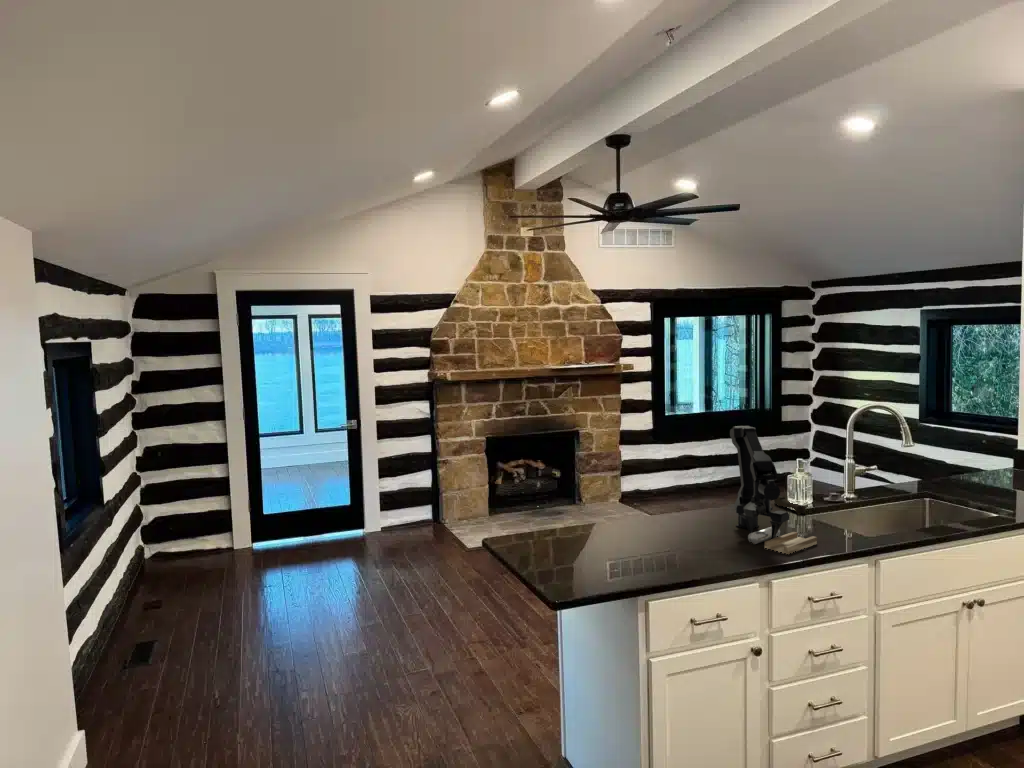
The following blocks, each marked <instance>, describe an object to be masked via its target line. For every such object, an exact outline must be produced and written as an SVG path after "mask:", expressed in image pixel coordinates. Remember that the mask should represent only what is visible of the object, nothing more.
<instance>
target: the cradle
mask: <svg viewBox="0 0 1024 768" xmlns="http://www.w3.org/2000/svg"><path fill="white" fill-rule="evenodd" d="M817 540H818V537H817V536H814V535H812V536H809V537H807V538H805V537H801V536H798V532H796V531H791V532H789V533H786V534H783V535H779V536H778V537H775V538H774V539H769V540H766V541H764V549H765V548H767V549H766V550H768V549H771V550H770V551H772V550H774V551H773V552H776V551H778V552H777V553H780V552H782V553H781V554H784V553H786V554H785V555H787V554H788V555H790V553H791V554H794V553H796V552H799V551H801V549H802V550H804V548H805V549H807V548H810V547H813V546H815V545H818V543H817V542H818V541H817ZM795 551H796V552H795ZM793 552H794V553H793Z"/></svg>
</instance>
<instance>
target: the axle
mask: <svg viewBox="0 0 1024 768" xmlns="http://www.w3.org/2000/svg"><path fill="white" fill-rule="evenodd" d="M777 536H778V537H779V536H781V529H780V528H779V530H778V532H777V534H776V536H775V538H777ZM771 538H772V526H770V527H769V526H768V527H766V528H764V529H760V530H757V531H754V532H752V533H749V534H748V535H747V540H748V542H749V543H750V542H752V543H755V544H754V545H756V544H760V543H763V542H765V541H768V540H771ZM752 543H751V544H752Z"/></svg>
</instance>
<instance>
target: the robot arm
mask: <svg viewBox="0 0 1024 768" xmlns="http://www.w3.org/2000/svg"><path fill="white" fill-rule="evenodd" d="M729 437H730V438H731V442H732V444H733V446H735V448H736V449H737V459H738V468H739V469H738V470H739V476H740V488H739V490H738V492H737V497H736V499H735V502H734V510H735V514H738V515H737V518H738V519H737V520H738V521H737V523H738V524H735V527H737V528H741V527H742V528H741V529H745V528H747V529H746V530H748V532H749V534H750V533H753V531H754V529H756V528H759V527H760V524H759V515H760V516H764V517H769V518H770V521H769V523H770V525H771V527H772V539H774V538H776V537H775V536H776V534H777V532H778V530H779V529H780V528H781V526H782V525H783V523H786V522H787V521H790V514H789V512H788V511H784V510H776V511H773V507H772V506H771V501H774V500H775V499H777V498H778V497H779V495H781V489H780V487H779V486H778V485H777V484H776V483H775V481H776V480H777V481H778V472H777V469H776V466H775V464H774V462H773V461H772V458H771V457H770V455H768V454H767V453H765V452H764V450H763V449H764V448H763V447H762V444H761V442H760V440H759V437H758V435H757V429H756V427H755V426H754V427H753V426H750V425H737V426H736V425H735V426H734V425H733V426H732V428H731V429H729ZM758 526H759V527H758ZM755 527H756V528H755Z"/></svg>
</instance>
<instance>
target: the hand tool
mask: <svg viewBox="0 0 1024 768" xmlns="http://www.w3.org/2000/svg"><path fill="white" fill-rule="evenodd" d="M789 501H790V500H788V499H786V497H785V496H784V495H783V496H782V495H781V494H780V495H779V497H778V498H777V499H775V500H773V503H774V502H775V503H774V504H775V505H776V504H778V506H777V507H779V506H783V507H782V508H785V507H792V508H794V509H795V510H796V512H795V513H796V514H797V513H804V514H805V511H806V507H805V505H803V504H799V505H798V503H797V504H793V503H794V502H793V503H790V502H789Z"/></svg>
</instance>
